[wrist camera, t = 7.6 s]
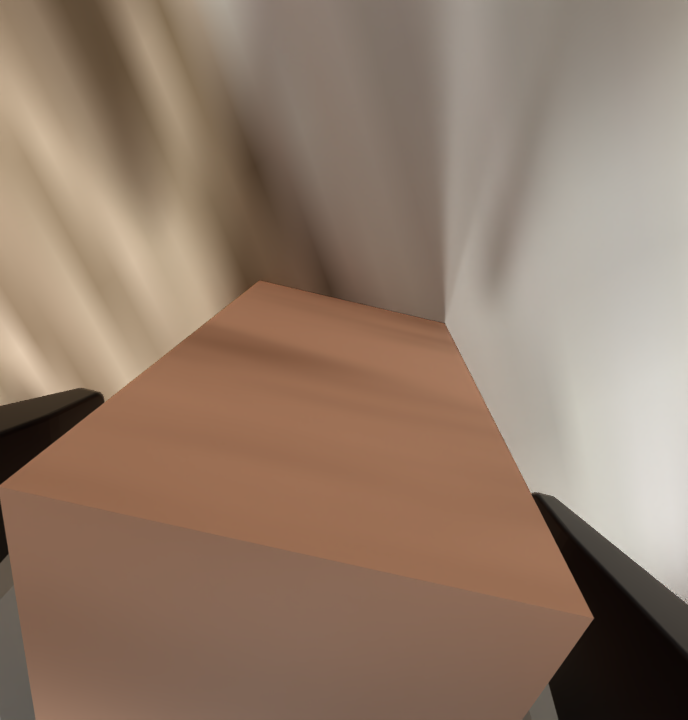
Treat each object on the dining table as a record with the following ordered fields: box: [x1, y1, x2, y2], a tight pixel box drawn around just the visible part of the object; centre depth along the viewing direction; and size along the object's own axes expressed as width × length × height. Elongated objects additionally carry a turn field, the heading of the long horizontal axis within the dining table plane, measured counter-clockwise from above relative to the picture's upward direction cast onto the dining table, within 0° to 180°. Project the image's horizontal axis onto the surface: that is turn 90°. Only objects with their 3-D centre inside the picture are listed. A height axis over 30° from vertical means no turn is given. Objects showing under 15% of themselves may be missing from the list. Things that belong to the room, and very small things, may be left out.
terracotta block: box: [0, 280, 594, 720], centre depth 8 cm, size 5×5×8 cm
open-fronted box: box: [0, 554, 558, 720], centre depth 15 cm, size 11×17×4 cm, turn 78°
